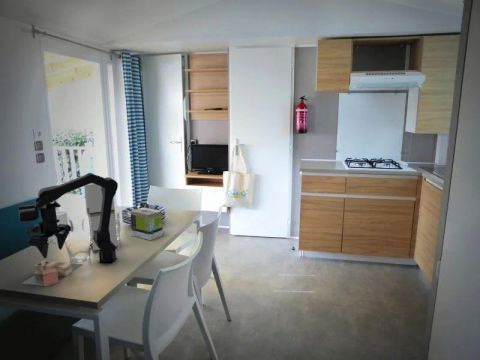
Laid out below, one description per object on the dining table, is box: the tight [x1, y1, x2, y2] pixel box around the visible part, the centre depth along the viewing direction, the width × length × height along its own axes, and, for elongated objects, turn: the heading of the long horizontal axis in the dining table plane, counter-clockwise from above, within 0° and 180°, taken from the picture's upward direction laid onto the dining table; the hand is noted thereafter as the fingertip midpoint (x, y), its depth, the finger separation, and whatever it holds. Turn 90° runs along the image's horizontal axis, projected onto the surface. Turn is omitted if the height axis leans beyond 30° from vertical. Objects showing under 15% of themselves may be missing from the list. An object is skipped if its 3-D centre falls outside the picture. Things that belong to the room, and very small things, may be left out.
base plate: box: [21, 263, 83, 287], centre depth 147 cm, size 14×20×1 cm
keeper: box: [41, 267, 60, 287], centre depth 138 cm, size 4×5×6 cm
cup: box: [51, 209, 69, 244], centre depth 184 cm, size 8×8×16 cm
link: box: [33, 259, 73, 277], centre depth 147 cm, size 15×5×4 cm, turn 80°
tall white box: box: [83, 183, 119, 254], centre depth 172 cm, size 11×11×35 cm
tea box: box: [130, 207, 164, 241], centre depth 191 cm, size 15×10×15 cm, turn 58°
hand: (53, 253), depth 145 cm, fingers open, 9 cm apart
